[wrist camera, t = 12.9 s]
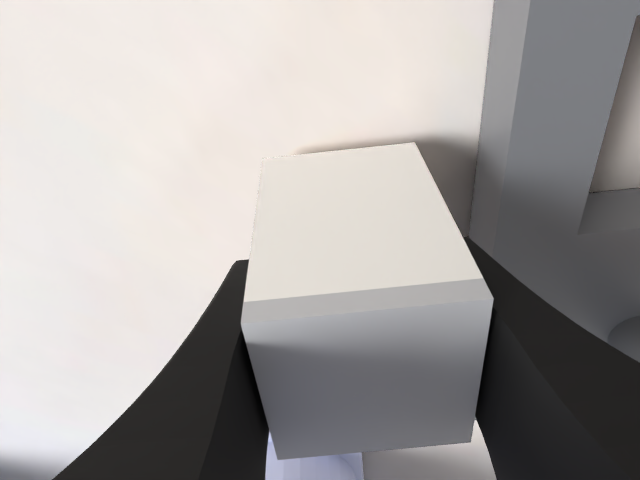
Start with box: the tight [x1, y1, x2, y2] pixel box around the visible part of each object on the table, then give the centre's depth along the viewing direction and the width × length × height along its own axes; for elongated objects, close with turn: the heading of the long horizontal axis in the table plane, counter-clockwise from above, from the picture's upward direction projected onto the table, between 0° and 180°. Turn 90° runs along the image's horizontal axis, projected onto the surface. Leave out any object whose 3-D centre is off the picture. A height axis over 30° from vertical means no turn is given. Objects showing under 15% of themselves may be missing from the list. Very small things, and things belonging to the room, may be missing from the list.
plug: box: [241, 142, 494, 460], centre depth 11 cm, size 4×4×6 cm
